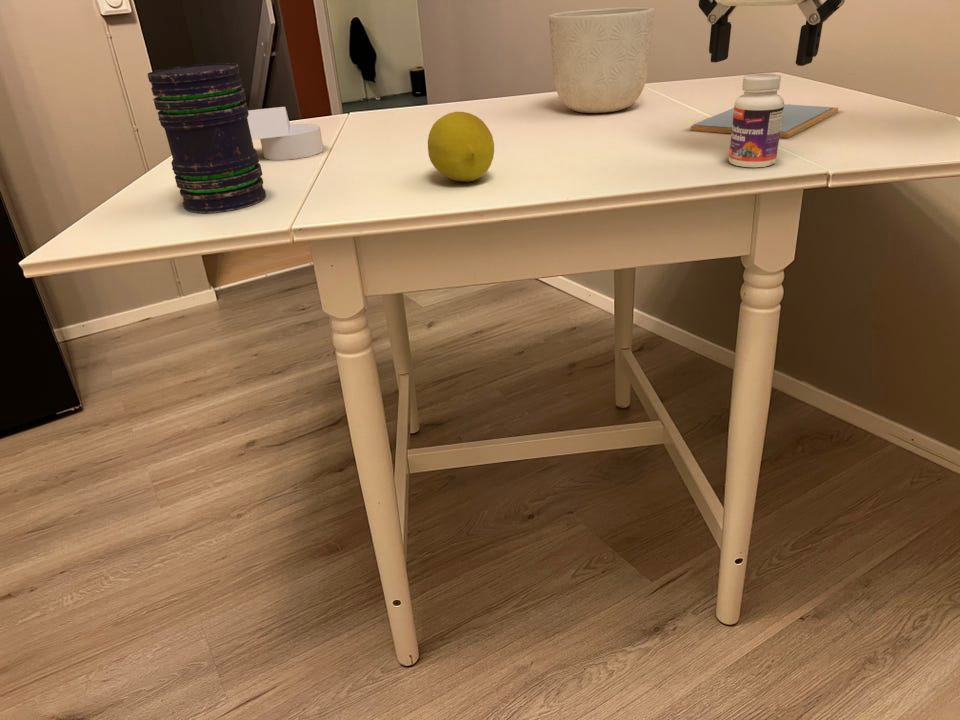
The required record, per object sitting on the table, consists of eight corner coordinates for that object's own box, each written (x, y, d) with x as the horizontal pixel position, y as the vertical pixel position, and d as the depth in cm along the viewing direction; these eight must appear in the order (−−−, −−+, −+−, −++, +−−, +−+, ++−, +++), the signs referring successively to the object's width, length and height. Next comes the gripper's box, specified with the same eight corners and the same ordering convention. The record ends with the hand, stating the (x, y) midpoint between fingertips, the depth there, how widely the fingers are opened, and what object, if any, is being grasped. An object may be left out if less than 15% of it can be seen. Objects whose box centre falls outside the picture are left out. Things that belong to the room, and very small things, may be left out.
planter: (646, 98, 128) (651, 5, 121) (652, 116, 114) (658, 11, 106) (553, 103, 131) (551, 11, 124) (547, 120, 116) (545, 18, 109)
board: (838, 111, 107) (839, 106, 106) (787, 138, 94) (788, 132, 94) (747, 106, 115) (748, 101, 115) (690, 130, 103) (690, 124, 102)
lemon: (503, 186, 83) (500, 115, 79) (438, 194, 82) (431, 123, 78) (485, 166, 92) (481, 101, 88) (426, 173, 91) (419, 108, 87)
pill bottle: (719, 164, 85) (727, 78, 80) (744, 155, 88) (753, 71, 83) (760, 170, 81) (771, 80, 77) (785, 161, 84) (797, 74, 80)
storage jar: (239, 185, 92) (210, 62, 85) (283, 195, 86) (256, 63, 79) (167, 206, 85) (129, 74, 78) (209, 218, 79) (172, 76, 72)
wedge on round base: (234, 165, 102) (324, 155, 104) (222, 117, 99) (316, 107, 101) (239, 153, 110) (322, 143, 112) (228, 108, 107) (315, 99, 109)
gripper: (687, -112, 74) (673, 64, 82) (864, -134, 64) (828, 70, 72) (718, -110, 79) (703, 56, 87) (888, -130, 68) (852, 61, 77)
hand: (759, 62), depth 79 cm, fingers open, 9 cm apart
